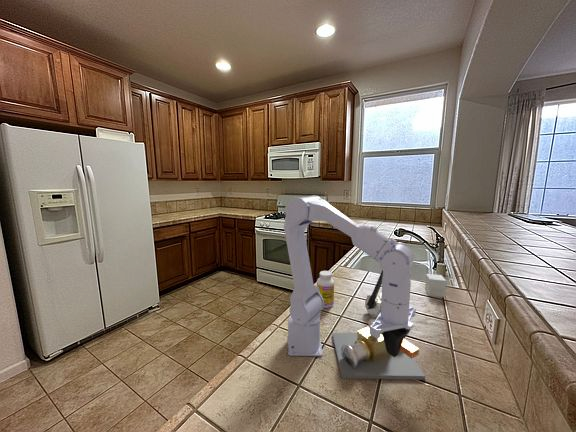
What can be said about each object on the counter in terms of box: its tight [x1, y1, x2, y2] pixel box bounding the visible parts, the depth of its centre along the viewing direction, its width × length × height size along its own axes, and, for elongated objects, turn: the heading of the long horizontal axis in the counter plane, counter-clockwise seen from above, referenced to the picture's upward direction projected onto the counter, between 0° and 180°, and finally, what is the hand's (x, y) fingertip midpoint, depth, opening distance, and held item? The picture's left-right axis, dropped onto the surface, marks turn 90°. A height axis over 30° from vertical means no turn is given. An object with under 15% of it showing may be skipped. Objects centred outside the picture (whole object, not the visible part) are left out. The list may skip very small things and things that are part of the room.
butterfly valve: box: [364, 269, 383, 318], centre depth 84 cm, size 9×20×17 cm
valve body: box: [341, 326, 389, 369], centre depth 65 cm, size 18×6×8 cm, turn 118°
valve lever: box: [367, 318, 420, 359], centre depth 59 cm, size 13×3×2 cm, turn 28°
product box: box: [424, 273, 447, 298], centre depth 99 cm, size 6×6×7 cm
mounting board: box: [332, 332, 426, 381], centre depth 65 cm, size 20×16×1 cm
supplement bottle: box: [316, 270, 335, 309], centre depth 91 cm, size 7×7×13 cm
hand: (392, 353), depth 54 cm, fingers closed
